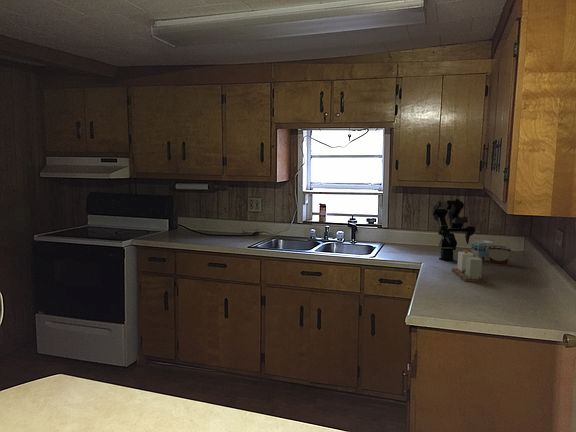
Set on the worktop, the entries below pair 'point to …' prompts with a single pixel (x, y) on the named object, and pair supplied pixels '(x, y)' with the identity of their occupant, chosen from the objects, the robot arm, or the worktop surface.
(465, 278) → the rail board
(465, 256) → the block
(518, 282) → the worktop surface
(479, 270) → the block
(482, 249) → the light bulb box
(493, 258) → the food container
